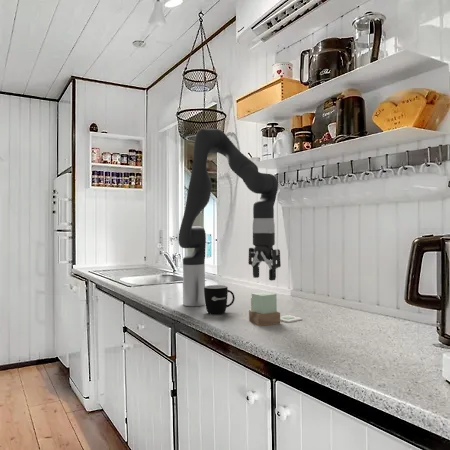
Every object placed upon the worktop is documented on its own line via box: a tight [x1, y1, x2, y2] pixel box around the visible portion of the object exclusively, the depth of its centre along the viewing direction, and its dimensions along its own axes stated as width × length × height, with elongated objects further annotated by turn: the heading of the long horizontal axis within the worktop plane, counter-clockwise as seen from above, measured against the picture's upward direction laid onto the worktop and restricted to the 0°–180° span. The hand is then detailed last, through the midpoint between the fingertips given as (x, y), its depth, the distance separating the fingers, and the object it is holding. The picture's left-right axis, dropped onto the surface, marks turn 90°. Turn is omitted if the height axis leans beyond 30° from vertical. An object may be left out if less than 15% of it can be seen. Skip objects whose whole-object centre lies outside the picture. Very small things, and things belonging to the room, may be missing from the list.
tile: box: [280, 314, 303, 323], centre depth 150 cm, size 7×7×1 cm
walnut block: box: [248, 309, 281, 327], centre depth 147 cm, size 8×8×4 cm
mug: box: [204, 284, 236, 316], centre depth 164 cm, size 12×9×10 cm
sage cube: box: [251, 291, 278, 314], centre depth 147 cm, size 6×6×6 cm
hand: (264, 278), depth 147 cm, fingers open, 8 cm apart
